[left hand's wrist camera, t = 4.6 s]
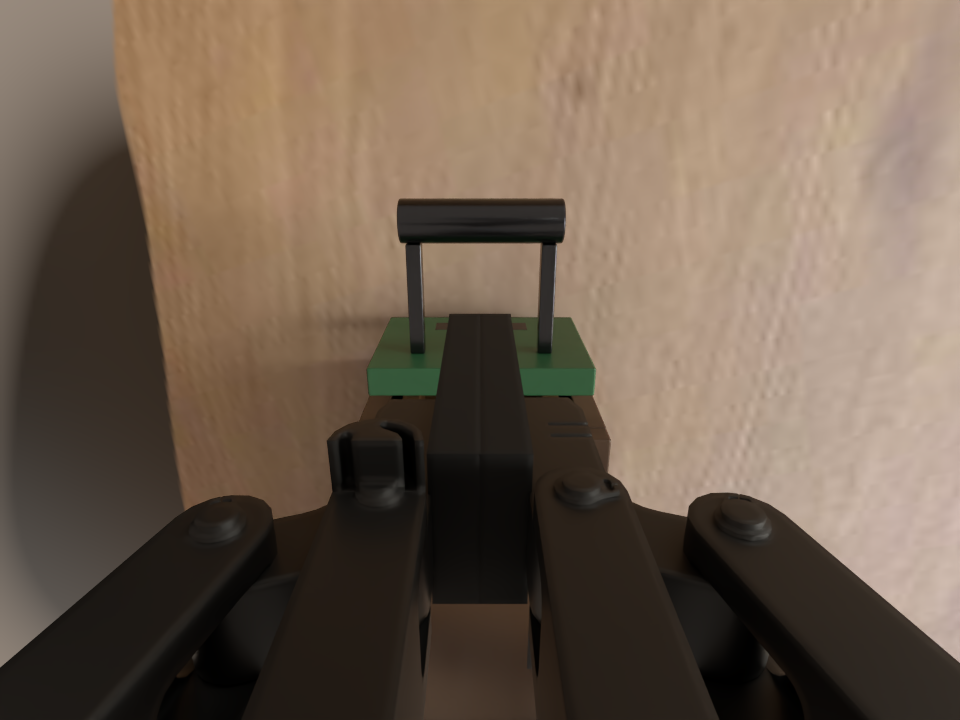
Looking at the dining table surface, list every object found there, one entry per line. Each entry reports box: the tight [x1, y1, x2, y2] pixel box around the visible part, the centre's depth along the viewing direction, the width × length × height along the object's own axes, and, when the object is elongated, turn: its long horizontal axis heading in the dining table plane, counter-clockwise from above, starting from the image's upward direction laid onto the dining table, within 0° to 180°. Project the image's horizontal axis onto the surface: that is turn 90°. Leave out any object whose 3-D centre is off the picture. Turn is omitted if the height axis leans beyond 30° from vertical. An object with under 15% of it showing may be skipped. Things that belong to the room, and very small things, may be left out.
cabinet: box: [360, 396, 611, 720], centre depth 31 cm, size 21×10×9 cm, turn 0°
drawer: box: [367, 199, 596, 399], centre depth 28 cm, size 26×9×7 cm, turn 0°
